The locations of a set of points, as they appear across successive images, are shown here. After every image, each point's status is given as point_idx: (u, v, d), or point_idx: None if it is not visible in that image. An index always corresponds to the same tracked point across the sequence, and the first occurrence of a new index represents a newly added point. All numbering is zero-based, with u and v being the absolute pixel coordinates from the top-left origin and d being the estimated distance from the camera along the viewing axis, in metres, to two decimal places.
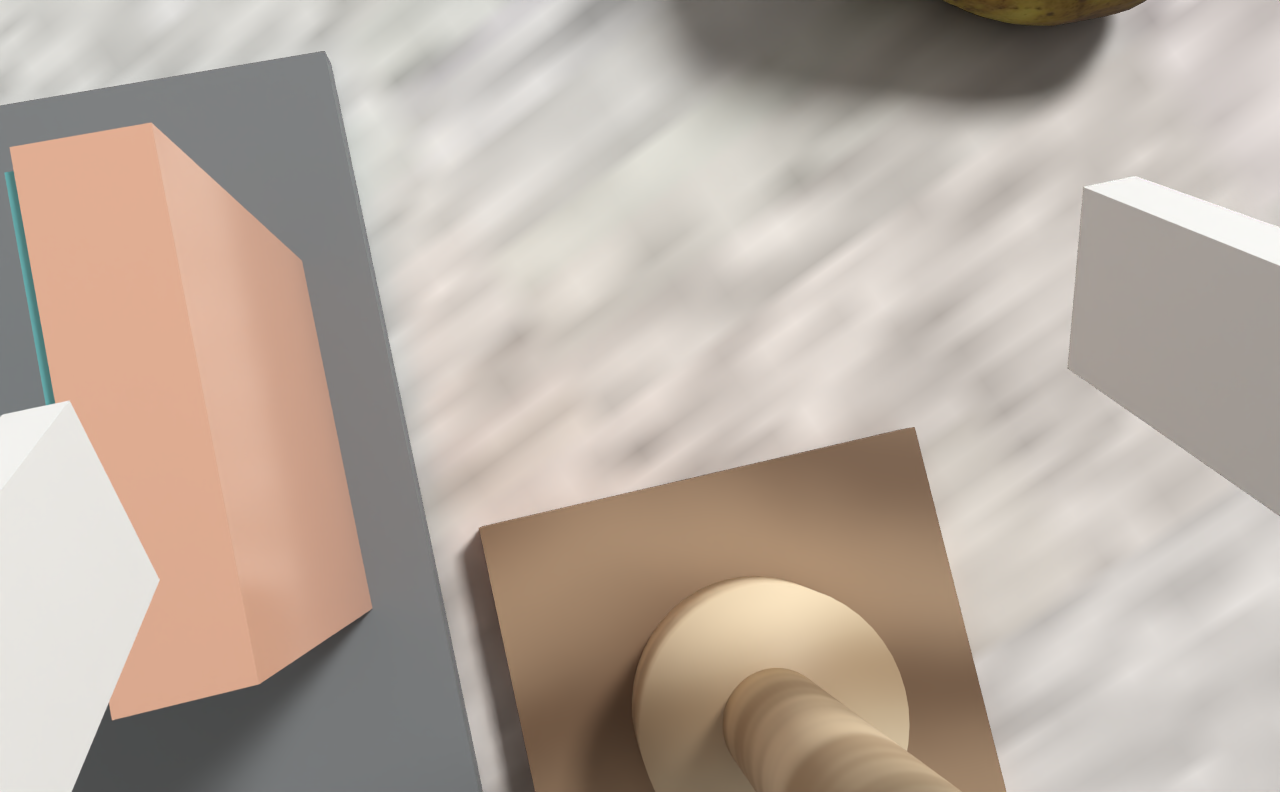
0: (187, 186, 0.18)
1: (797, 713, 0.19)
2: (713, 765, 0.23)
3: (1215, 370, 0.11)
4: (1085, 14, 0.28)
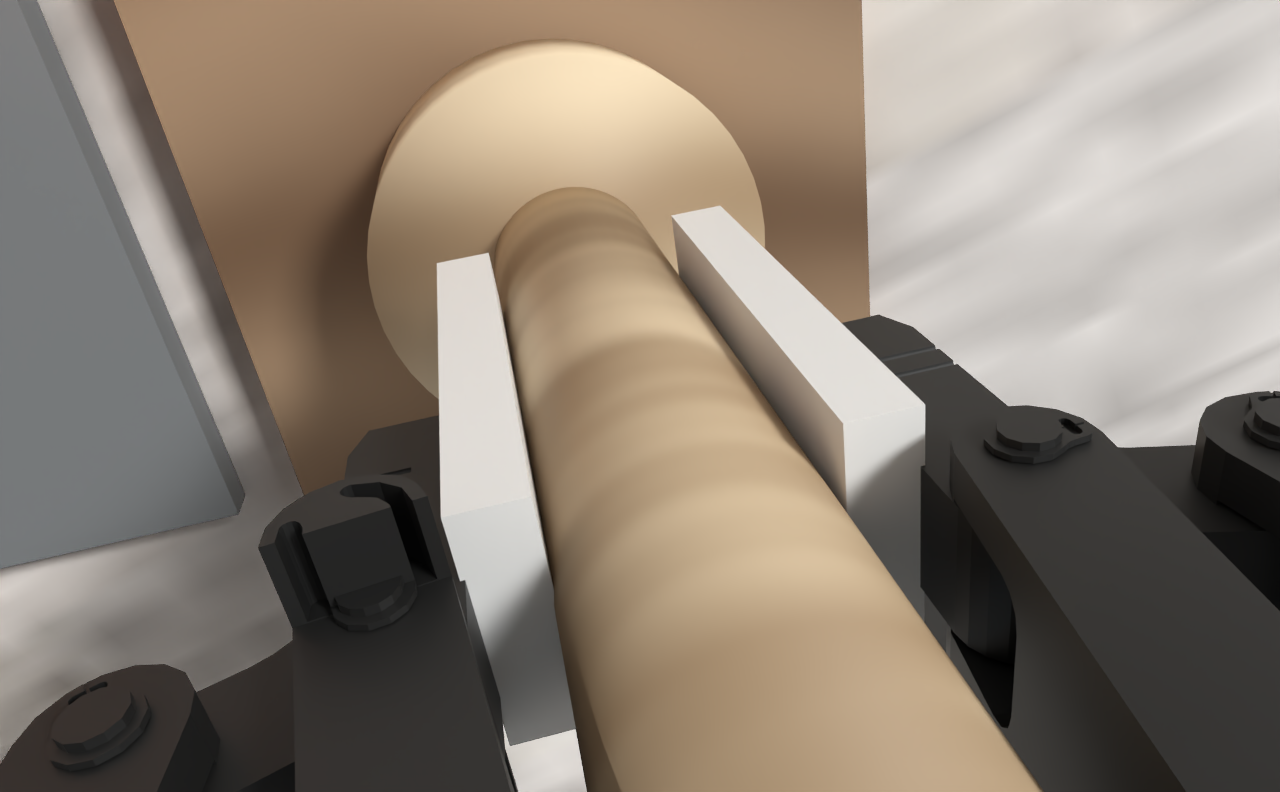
0: None
1: (579, 277, 0.12)
2: None
3: None
4: None
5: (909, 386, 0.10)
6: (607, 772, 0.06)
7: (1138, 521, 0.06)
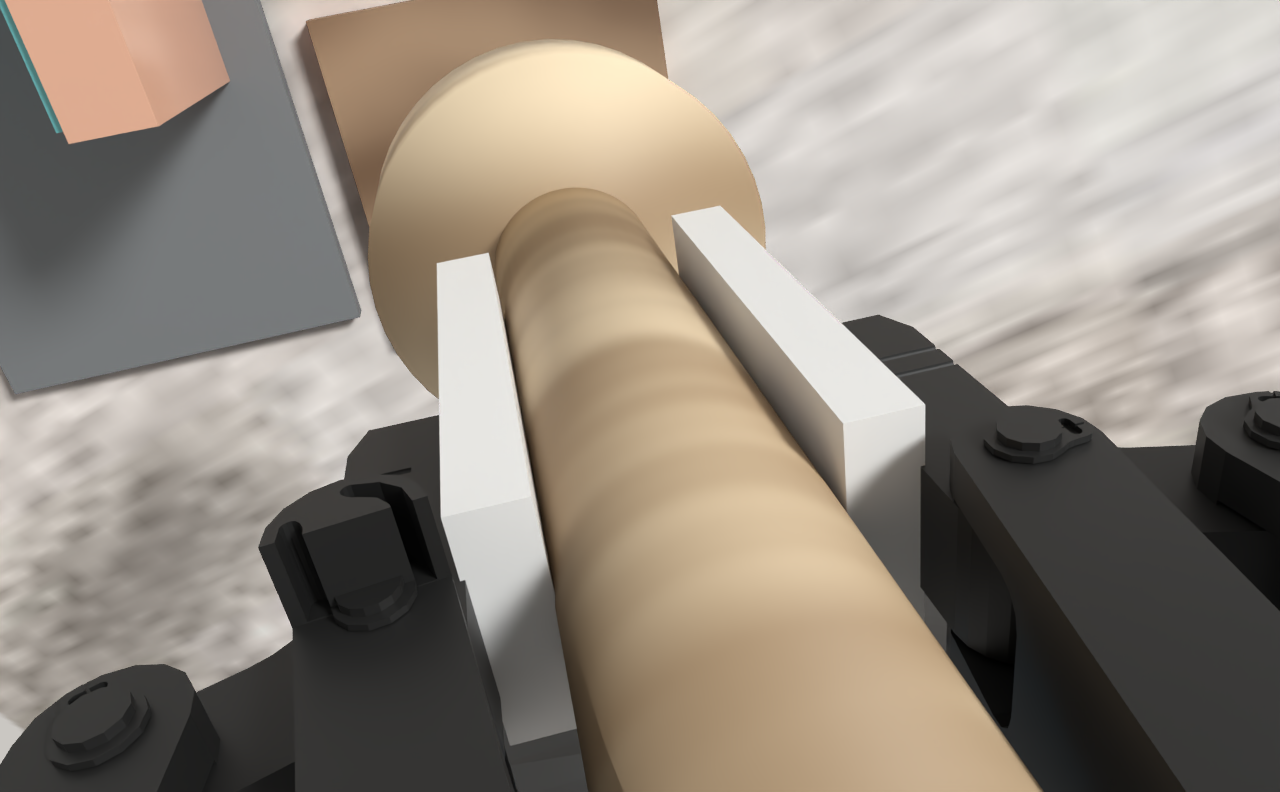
0: None
1: (579, 278, 0.12)
2: None
3: None
4: None
5: (909, 386, 0.10)
6: (608, 773, 0.06)
7: (1139, 521, 0.06)
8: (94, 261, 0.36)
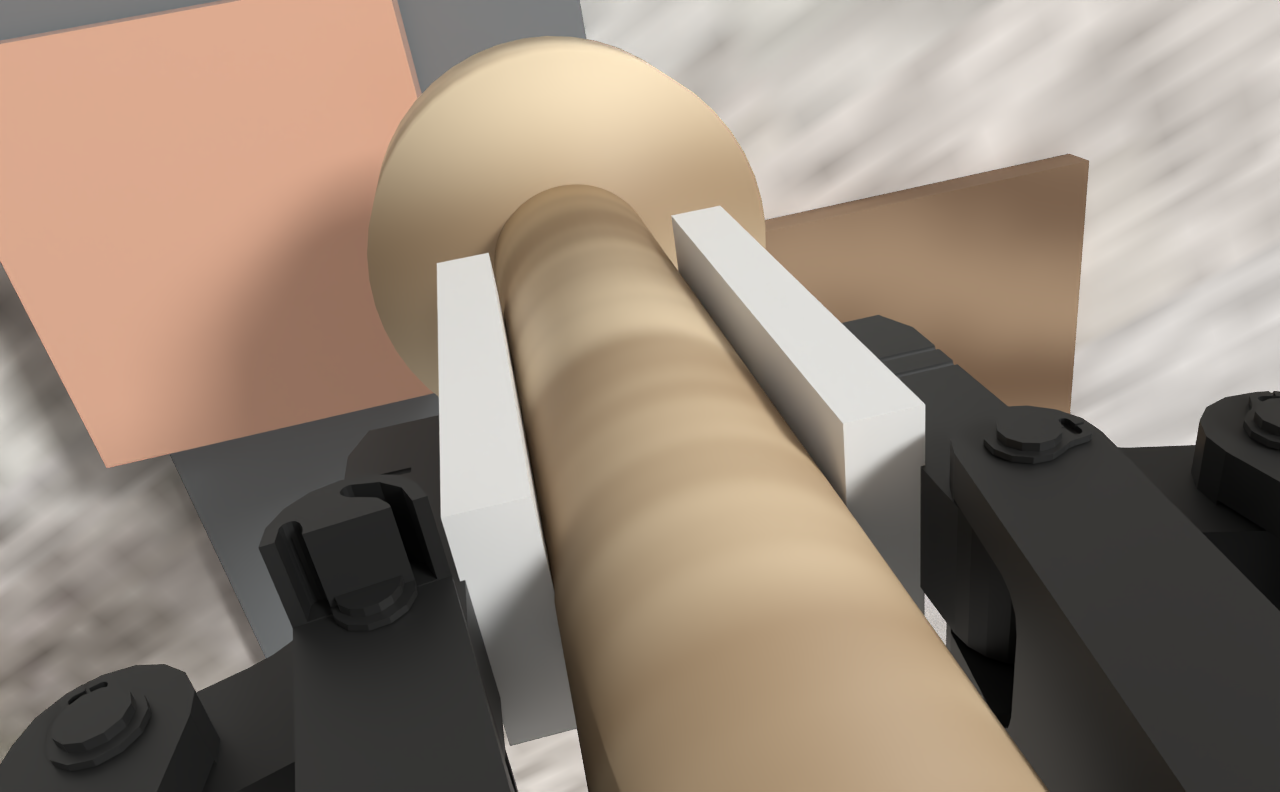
0: None
1: (579, 274, 0.12)
2: None
3: None
4: None
5: (909, 386, 0.10)
6: (608, 768, 0.06)
7: (1138, 521, 0.06)
8: None
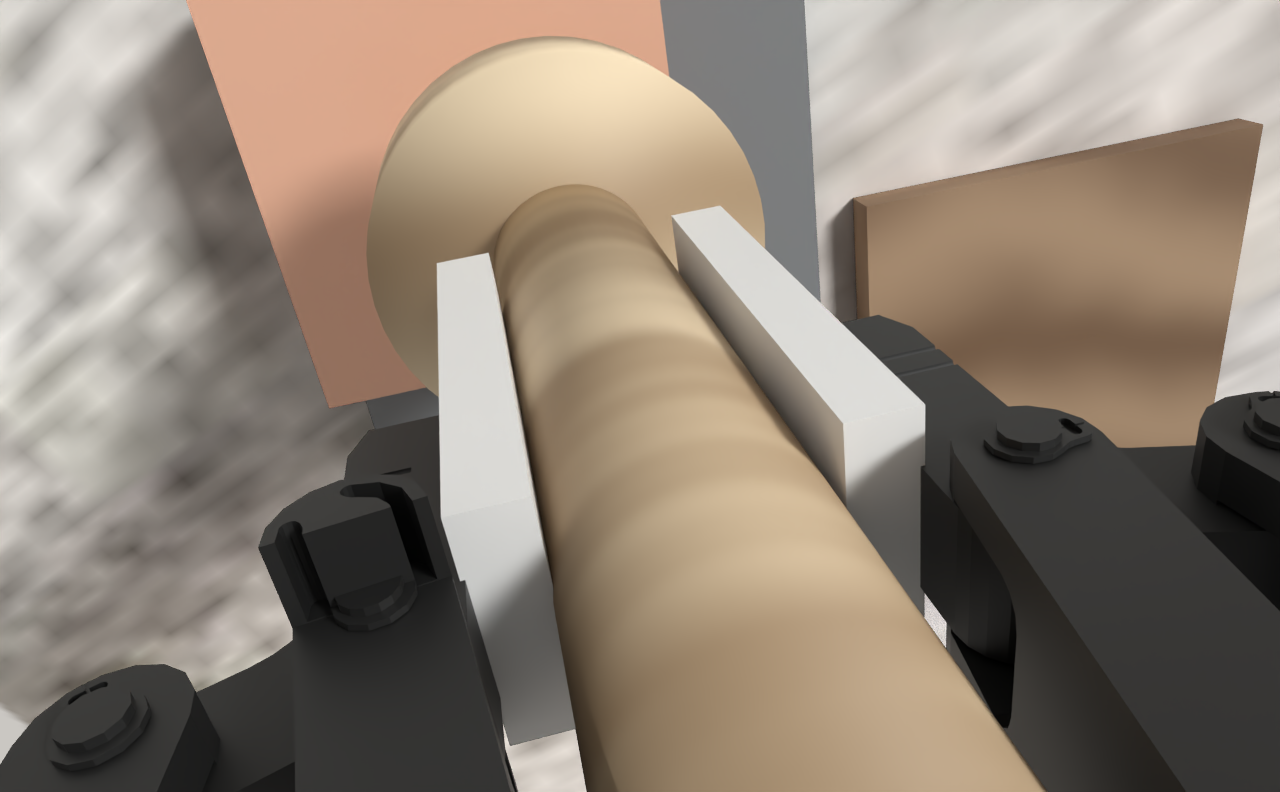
0: (259, 21, 0.20)
1: (578, 274, 0.12)
2: None
3: None
4: None
5: (909, 386, 0.10)
6: (606, 768, 0.06)
7: (1138, 521, 0.06)
8: None
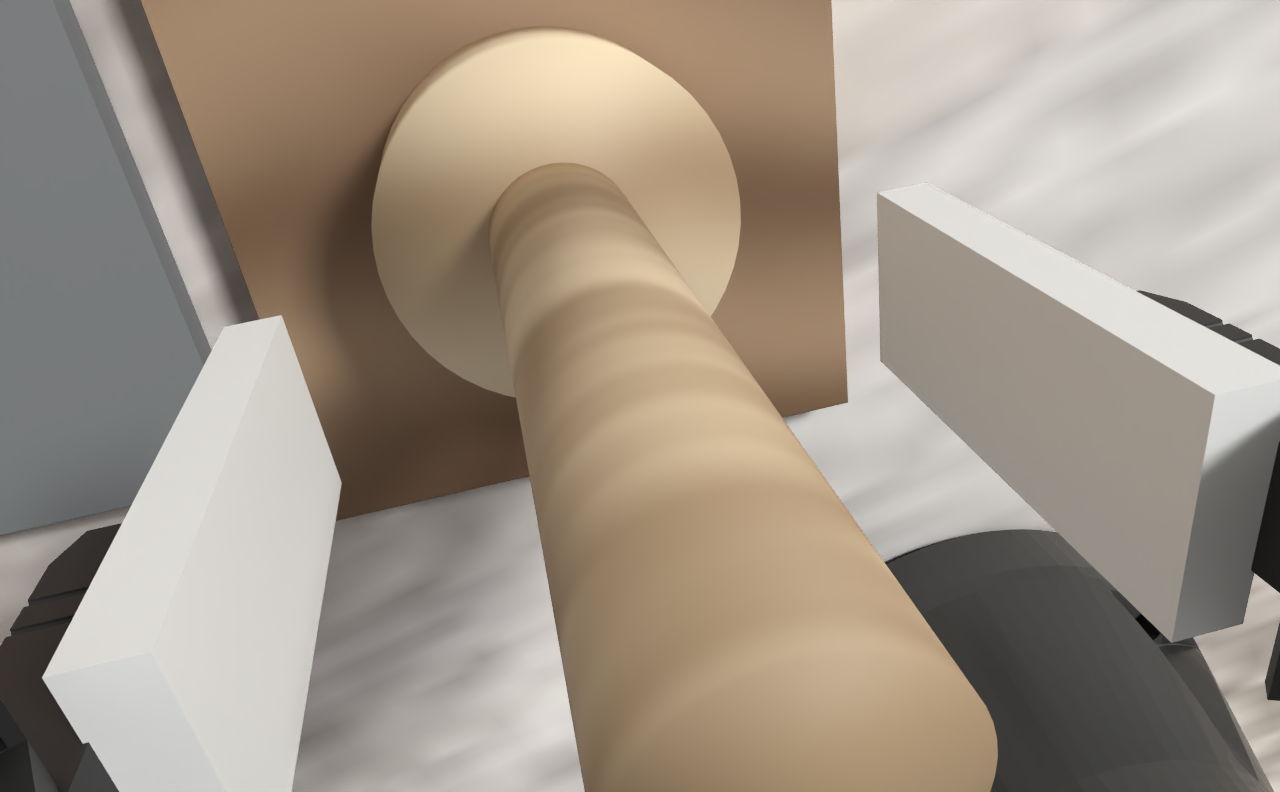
0: None
1: (563, 237, 0.13)
2: (475, 285, 0.18)
3: (968, 360, 0.12)
4: None
5: None
6: (572, 612, 0.07)
7: None
8: None
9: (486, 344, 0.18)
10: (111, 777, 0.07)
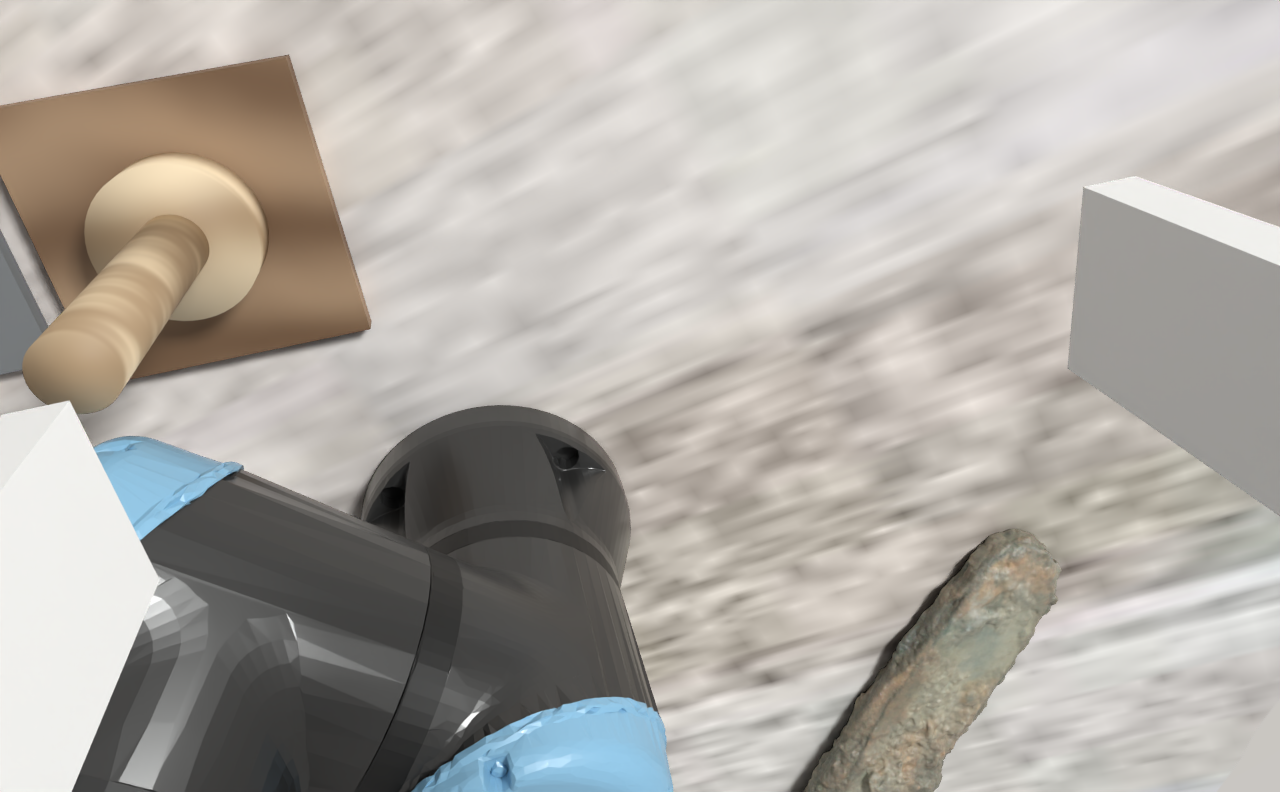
0: None
1: (126, 248, 0.36)
2: None
3: (1215, 370, 0.11)
4: None
5: None
6: None
7: None
8: None
9: None
10: None
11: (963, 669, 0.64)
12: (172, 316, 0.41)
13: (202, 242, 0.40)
